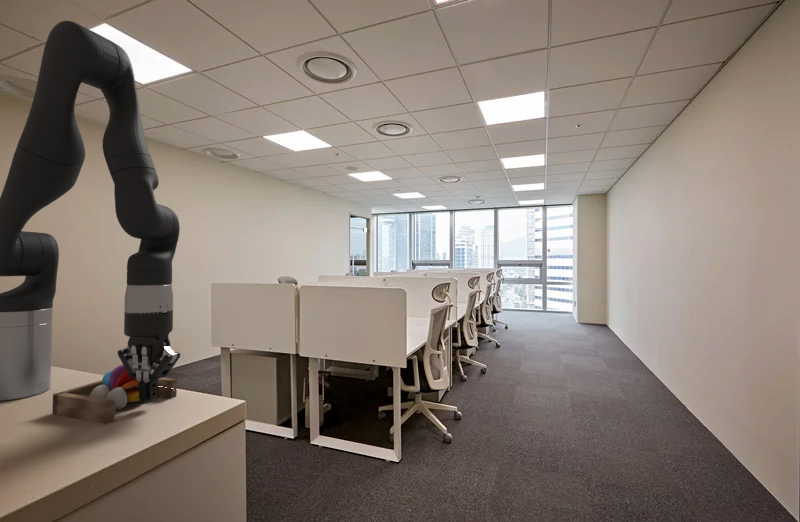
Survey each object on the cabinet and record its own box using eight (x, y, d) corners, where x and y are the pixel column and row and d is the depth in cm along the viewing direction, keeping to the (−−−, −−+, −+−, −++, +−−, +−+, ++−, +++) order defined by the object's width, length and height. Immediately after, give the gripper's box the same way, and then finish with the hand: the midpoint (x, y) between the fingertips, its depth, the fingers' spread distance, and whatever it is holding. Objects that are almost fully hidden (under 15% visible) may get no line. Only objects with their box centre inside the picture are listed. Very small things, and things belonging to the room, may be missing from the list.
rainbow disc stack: (120, 414, 65) (121, 374, 65) (81, 407, 68) (82, 368, 68) (163, 397, 73) (164, 362, 73) (126, 392, 76) (127, 357, 76)
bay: (52, 413, 65) (53, 394, 65) (127, 388, 78) (128, 372, 78) (107, 424, 61) (107, 403, 61) (176, 396, 74) (176, 379, 74)
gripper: (102, 309, 66) (100, 404, 66) (158, 312, 62) (157, 413, 62) (141, 305, 73) (140, 390, 73) (194, 307, 70) (192, 397, 69)
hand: (147, 400), depth 68 cm, fingers closed
